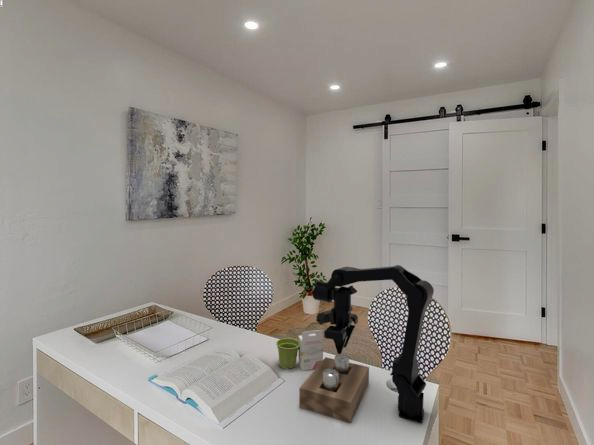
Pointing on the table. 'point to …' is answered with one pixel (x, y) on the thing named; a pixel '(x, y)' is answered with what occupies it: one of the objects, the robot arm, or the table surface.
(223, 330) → the table surface
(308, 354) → the ink cartridge box
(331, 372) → the peg near
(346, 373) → the peg far
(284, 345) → the plant pot
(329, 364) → the walnut block
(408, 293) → the robot arm
